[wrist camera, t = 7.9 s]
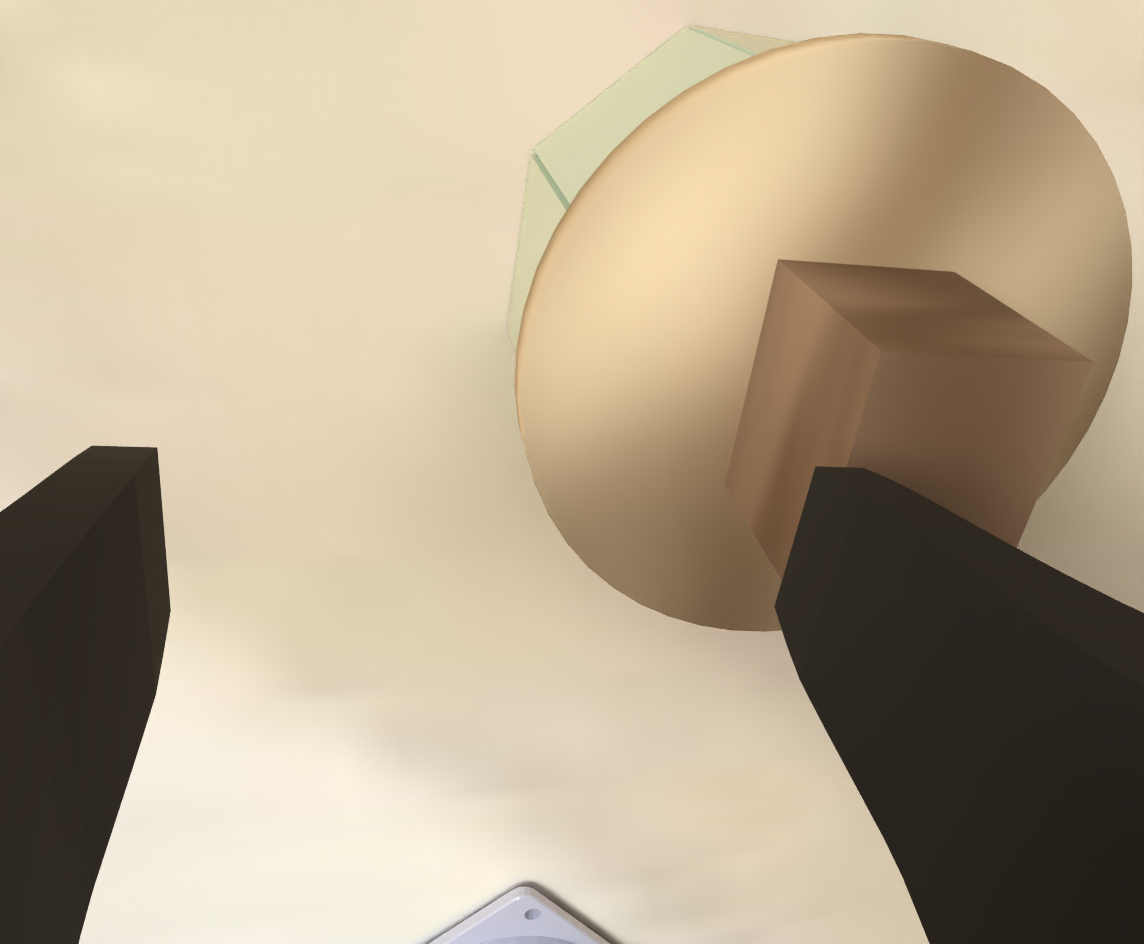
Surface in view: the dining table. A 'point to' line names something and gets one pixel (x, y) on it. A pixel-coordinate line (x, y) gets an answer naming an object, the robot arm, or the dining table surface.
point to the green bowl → (612, 136)
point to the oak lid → (818, 313)
